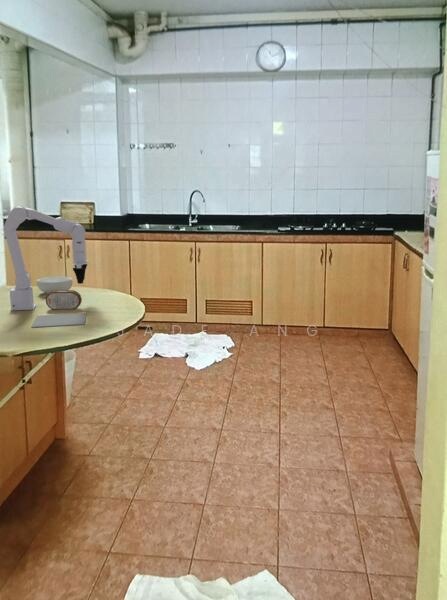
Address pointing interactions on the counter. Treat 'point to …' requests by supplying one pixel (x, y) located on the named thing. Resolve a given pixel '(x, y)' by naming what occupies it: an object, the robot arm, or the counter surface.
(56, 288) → the cereal bowl
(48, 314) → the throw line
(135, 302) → the counter surface
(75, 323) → the mat
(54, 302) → the tin
